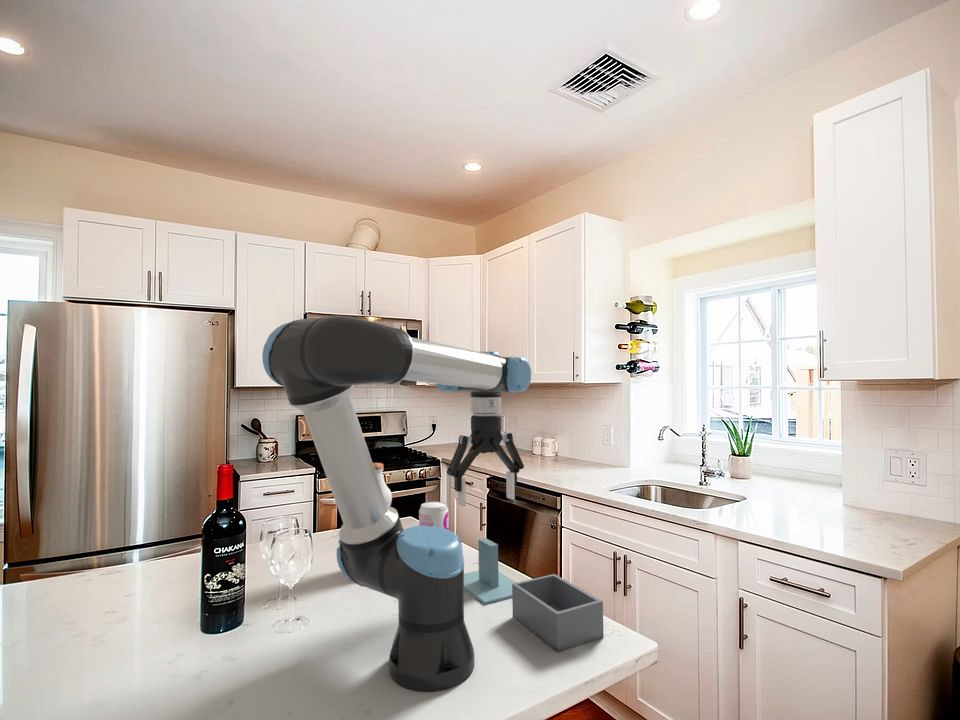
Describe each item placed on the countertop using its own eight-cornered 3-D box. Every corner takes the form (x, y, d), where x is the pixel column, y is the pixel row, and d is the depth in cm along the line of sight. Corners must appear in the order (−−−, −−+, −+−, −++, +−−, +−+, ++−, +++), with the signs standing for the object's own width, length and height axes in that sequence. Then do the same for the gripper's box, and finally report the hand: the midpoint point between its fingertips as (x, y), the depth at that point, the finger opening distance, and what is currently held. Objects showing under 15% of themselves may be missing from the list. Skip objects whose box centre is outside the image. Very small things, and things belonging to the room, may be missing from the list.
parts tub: (603, 637, 102) (602, 601, 102) (557, 652, 97) (556, 614, 97) (555, 605, 116) (554, 573, 116) (512, 617, 111) (512, 583, 111)
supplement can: (451, 553, 150) (450, 501, 151) (446, 564, 142) (445, 508, 142) (423, 552, 151) (422, 500, 151) (417, 563, 143) (416, 508, 143)
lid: (529, 594, 123) (528, 547, 123) (485, 606, 117) (484, 557, 117) (491, 571, 138) (491, 529, 138) (451, 580, 132) (450, 536, 132)
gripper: (445, 417, 119) (446, 511, 118) (536, 413, 131) (537, 498, 130) (433, 415, 126) (433, 504, 125) (520, 411, 137) (521, 492, 137)
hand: (486, 501), depth 128 cm, fingers open, 13 cm apart
